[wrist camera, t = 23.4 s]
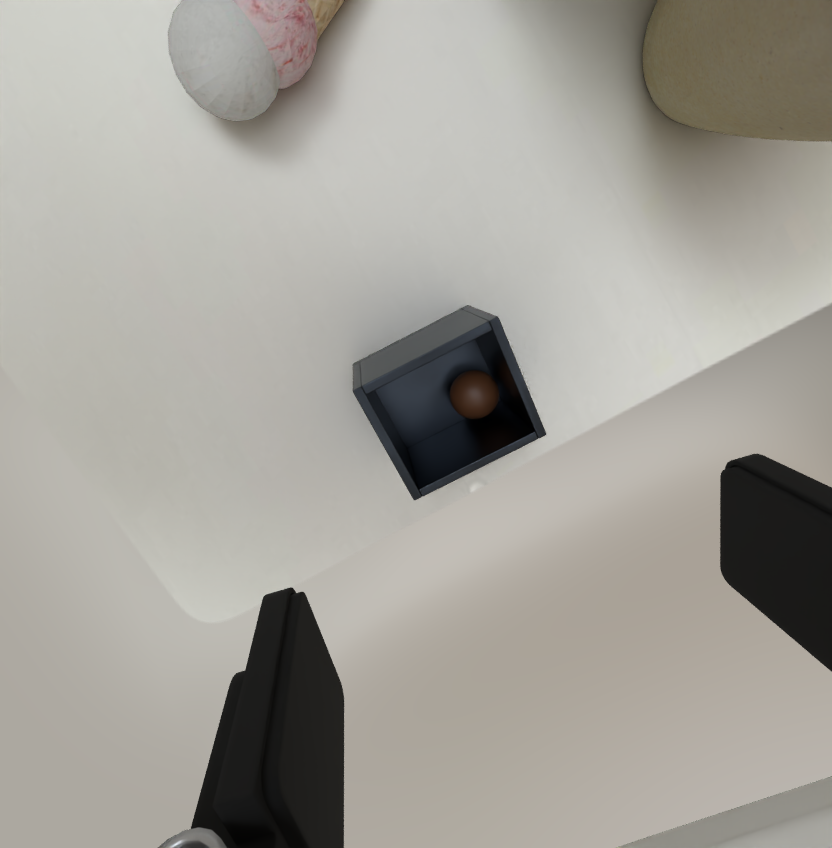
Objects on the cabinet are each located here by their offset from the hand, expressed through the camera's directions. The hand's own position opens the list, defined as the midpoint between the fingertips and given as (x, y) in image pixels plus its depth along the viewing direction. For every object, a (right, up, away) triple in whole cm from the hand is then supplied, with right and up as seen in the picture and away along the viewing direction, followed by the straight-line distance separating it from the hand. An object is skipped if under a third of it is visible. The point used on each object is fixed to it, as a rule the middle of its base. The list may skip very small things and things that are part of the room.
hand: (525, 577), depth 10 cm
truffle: (+1, +5, +19) cm, 19 cm away
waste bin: (-1, +6, +20) cm, 21 cm away
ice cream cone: (-8, +24, +13) cm, 29 cm away
